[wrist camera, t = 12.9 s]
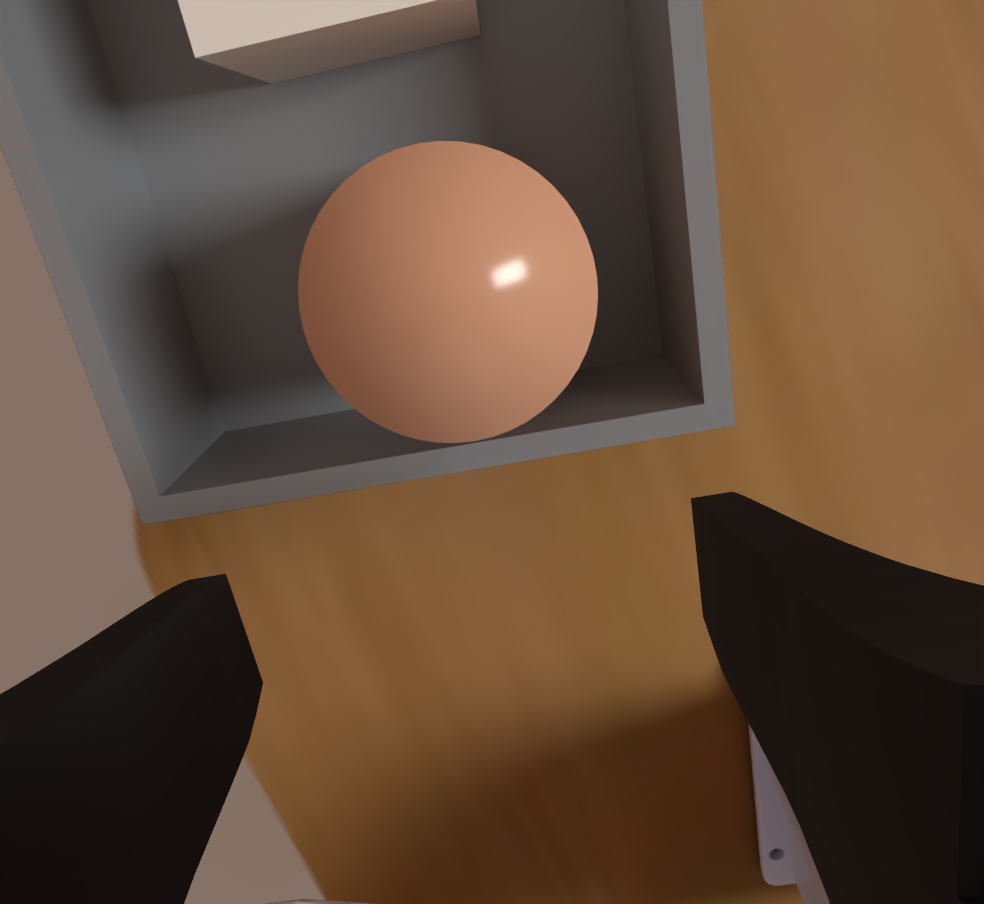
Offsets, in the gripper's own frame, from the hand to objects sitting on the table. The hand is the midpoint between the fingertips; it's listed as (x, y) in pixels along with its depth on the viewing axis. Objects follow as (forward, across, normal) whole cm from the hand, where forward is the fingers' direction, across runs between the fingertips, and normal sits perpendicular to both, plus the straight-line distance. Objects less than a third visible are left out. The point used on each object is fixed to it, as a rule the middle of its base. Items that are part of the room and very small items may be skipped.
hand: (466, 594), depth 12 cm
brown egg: (+10, 0, -4) cm, 10 cm away
